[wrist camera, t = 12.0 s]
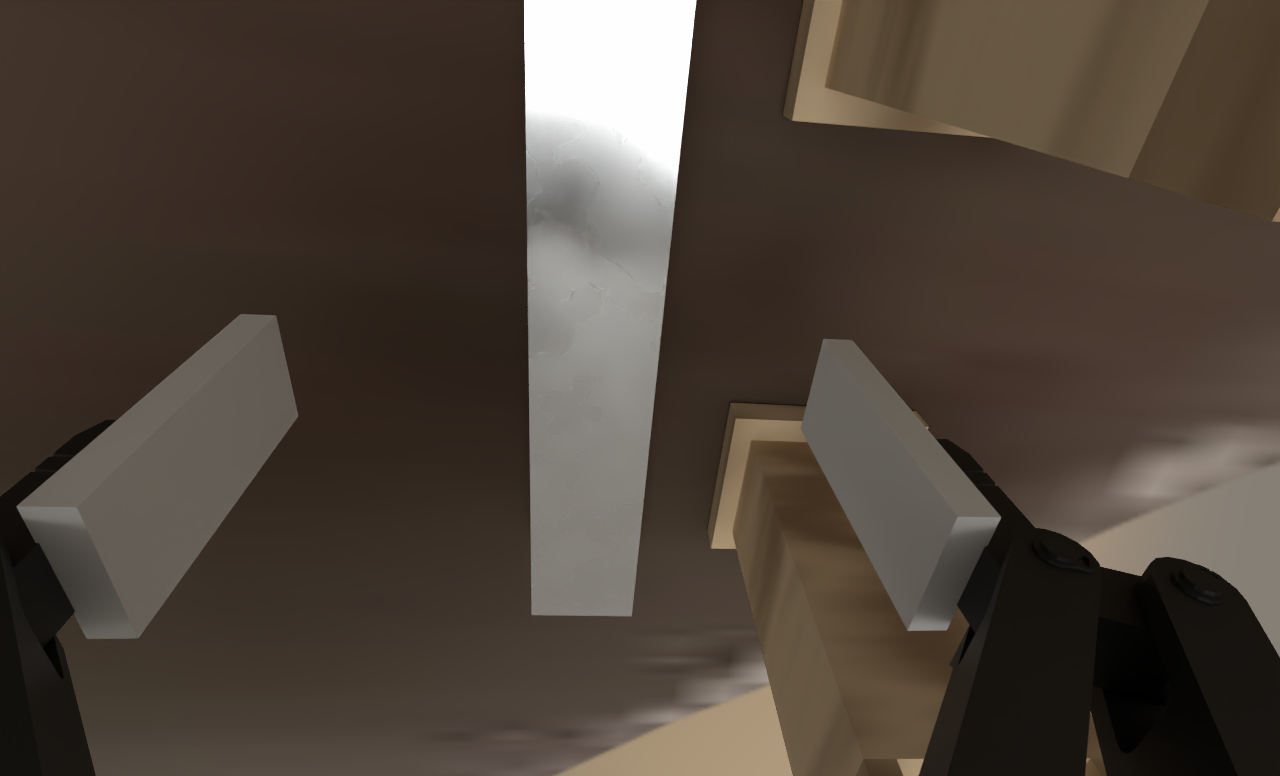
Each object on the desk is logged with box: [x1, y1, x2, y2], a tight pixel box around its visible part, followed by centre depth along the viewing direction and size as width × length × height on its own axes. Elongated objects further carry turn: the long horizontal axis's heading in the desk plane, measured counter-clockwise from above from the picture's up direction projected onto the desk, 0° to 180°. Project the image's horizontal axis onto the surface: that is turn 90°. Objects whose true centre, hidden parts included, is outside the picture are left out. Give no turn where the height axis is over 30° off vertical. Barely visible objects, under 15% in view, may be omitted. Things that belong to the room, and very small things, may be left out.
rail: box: [524, 0, 696, 616], centre depth 21 cm, size 4×26×5 cm, turn 176°
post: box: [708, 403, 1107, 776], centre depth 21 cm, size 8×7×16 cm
